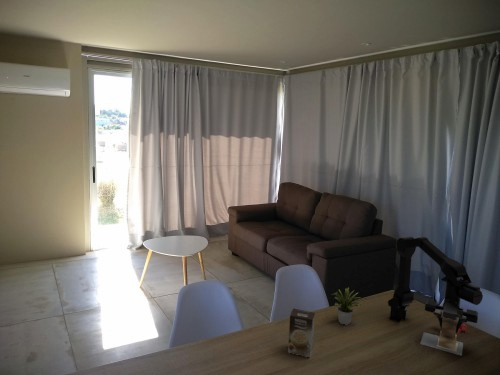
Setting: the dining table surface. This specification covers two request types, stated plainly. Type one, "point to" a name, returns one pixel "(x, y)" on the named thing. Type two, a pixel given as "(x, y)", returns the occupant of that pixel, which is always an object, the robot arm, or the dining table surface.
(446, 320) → the walnut cube
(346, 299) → the house plant
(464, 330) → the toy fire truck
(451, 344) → the oak base block
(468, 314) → the robot arm
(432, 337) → the plate
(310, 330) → the coffee box
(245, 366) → the dining table surface
